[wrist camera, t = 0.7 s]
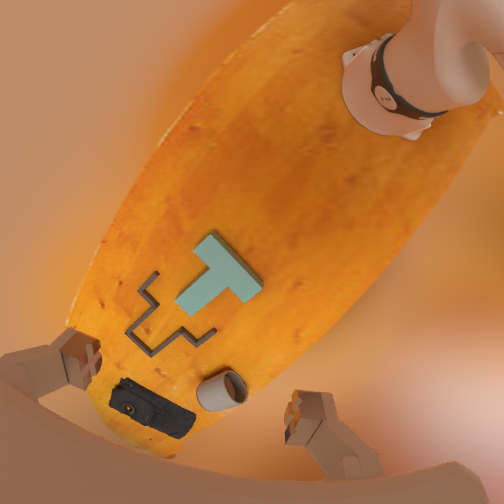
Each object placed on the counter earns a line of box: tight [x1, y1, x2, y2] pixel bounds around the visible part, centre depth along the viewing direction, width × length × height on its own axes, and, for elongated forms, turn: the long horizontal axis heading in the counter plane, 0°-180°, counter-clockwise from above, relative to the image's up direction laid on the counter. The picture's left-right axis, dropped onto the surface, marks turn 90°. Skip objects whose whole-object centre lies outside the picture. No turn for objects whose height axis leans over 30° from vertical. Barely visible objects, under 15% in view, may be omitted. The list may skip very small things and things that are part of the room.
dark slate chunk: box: [109, 378, 196, 439], centre depth 58 cm, size 15×22×5 cm
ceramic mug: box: [196, 370, 247, 412], centre depth 51 cm, size 11×8×8 cm
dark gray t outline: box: [125, 271, 217, 358], centre depth 50 cm, size 16×16×1 cm
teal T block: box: [175, 230, 263, 317], centre depth 46 cm, size 13×12×3 cm
